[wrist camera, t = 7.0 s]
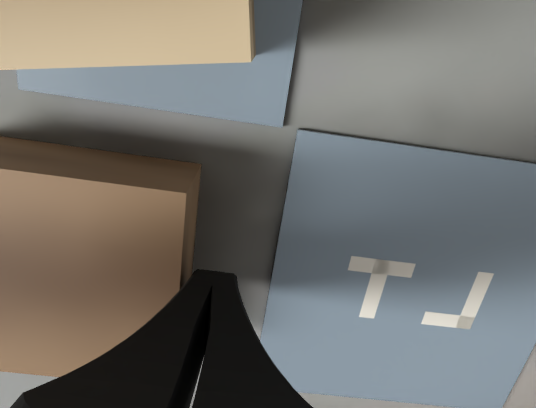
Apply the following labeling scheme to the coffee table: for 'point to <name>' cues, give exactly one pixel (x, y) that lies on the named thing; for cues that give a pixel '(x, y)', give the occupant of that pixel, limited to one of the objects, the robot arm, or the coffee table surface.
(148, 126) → the coffee table surface
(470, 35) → the coffee table surface
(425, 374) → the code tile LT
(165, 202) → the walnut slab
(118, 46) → the oak block
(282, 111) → the code tile
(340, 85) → the coffee table surface
